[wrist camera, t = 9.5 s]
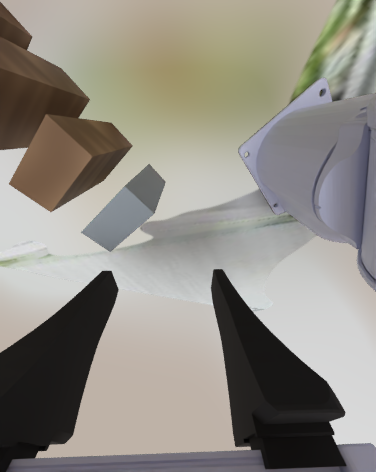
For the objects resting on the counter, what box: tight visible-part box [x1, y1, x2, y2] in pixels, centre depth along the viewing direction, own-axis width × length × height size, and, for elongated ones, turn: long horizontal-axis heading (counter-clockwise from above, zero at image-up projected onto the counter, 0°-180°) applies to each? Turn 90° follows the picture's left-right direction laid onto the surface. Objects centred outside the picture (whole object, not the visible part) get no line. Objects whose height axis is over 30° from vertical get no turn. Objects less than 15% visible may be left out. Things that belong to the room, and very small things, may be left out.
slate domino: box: [81, 164, 165, 252], centre depth 14 cm, size 2×5×8 cm, turn 130°
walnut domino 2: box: [9, 114, 132, 212], centre depth 12 cm, size 2×5×8 cm, turn 131°
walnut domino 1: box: [0, 37, 90, 150], centre depth 10 cm, size 2×5×8 cm, turn 131°
